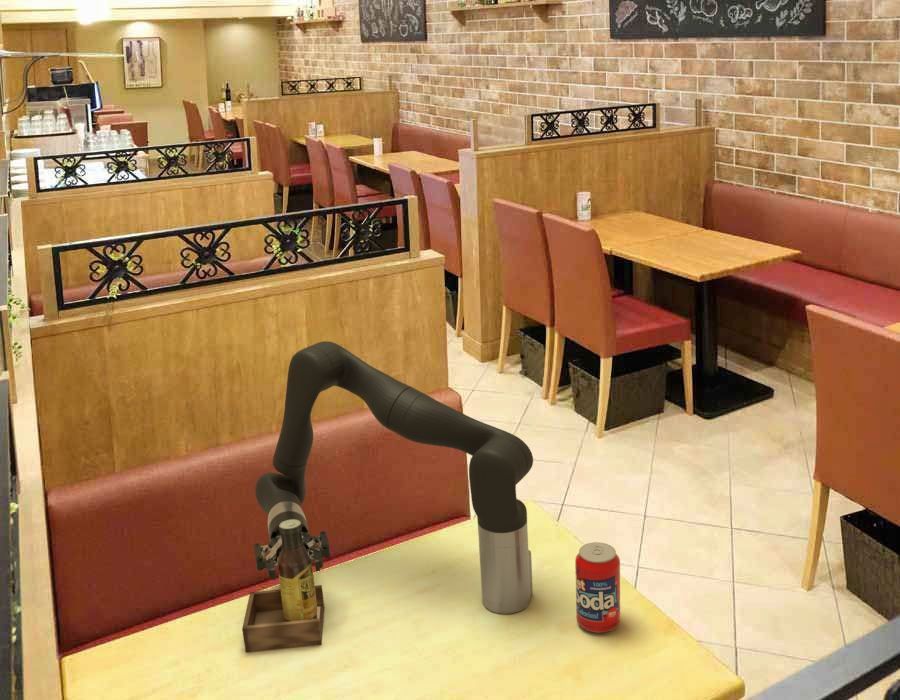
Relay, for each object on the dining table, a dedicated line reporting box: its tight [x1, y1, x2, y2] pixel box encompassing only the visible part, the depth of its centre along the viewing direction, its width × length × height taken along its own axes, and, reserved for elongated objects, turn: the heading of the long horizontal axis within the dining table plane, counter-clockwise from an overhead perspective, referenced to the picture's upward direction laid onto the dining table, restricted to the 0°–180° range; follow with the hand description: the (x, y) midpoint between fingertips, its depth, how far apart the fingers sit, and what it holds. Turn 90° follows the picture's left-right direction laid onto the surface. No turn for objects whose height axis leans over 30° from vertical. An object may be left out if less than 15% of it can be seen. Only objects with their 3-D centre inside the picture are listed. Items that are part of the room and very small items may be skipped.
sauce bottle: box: [277, 519, 317, 622], centre depth 169 cm, size 6×6×20 cm
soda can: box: [574, 541, 621, 633], centre depth 165 cm, size 8×8×15 cm
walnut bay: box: [241, 584, 325, 653], centre depth 171 cm, size 14×12×5 cm
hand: (296, 570), depth 166 cm, fingers open, 7 cm apart
